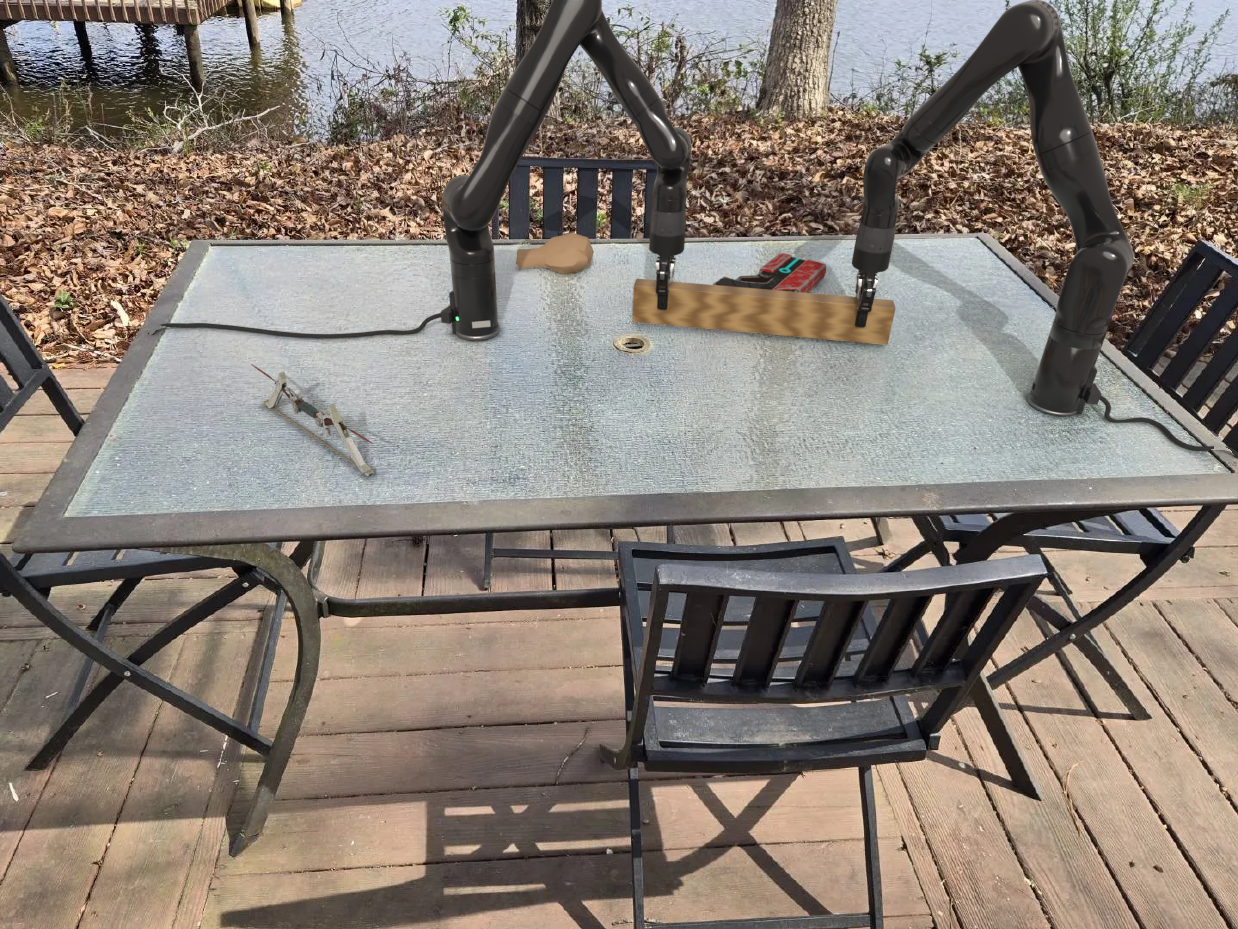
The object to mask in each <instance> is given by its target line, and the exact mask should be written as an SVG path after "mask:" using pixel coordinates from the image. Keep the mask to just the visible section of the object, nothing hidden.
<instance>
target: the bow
mask: <svg viewBox="0 0 1238 929" xmlns="http://www.w3.org/2000/svg"><path fill="white" fill-rule="evenodd" d="M250 365H251V366H252V367H253V368H255V369H256V370H257V371H259V373H261V374H263V375H264V376H266V377H267V378H269V379H270V380H272V381H273V382H274V390H273V391H272V392H271V394H270V396H269V398H268V399H265V400H263V401H262V403H263V406H264V407H266V408H267V409H273V410H274V411H276V412H277V413H278V414H280V415H281V416H283V417H285V419H287V420H289V421H290V422H292V423H293V424H295V425H296V426H297V427H299V428H301V429H302V430H304V431H305V432H306V433H307V434H309V435H311V436H312V437H313V438H315V439H316V440H318V441H319V442H320V443H322V444H324V445H325V446H326V447H328V448H329V449H330V450H332V451H334V452H335V453H337V454H338V455H340V456H341V457H342V458H343V459H345V460H347V461H348V462H349V463H351V464H352V465H354V466H355V467H357V468H358V470H359V471H360V472H361V473H362V475H364V476H367V477H370V475H373V474H375V473H374V471H373V469H372V468H371V467H370V466H368V464H367V463H366V462H365V460H364V458H363V456H362V454H361V452H360V451H359V448H358V447H357V445H356V443H355V441H354V440H353V438H352V436H351V434H350V432H351V433H353V434H354V435H356V436H357V437H358V438H360V439H362V440H363V441H365V442H367V443H369V444H373V442H372V441H371V440H369V439H368V438H366V437H365V436H363V434H360V433H359V432H357V431H355V430H353V429H351V428H349V427H348V426H347V425H346V423H345V421H344V419H343V417H342V416H341V414H340V413H339V411H338V409H337V407H336V405H335V403H334V402H333V403H331V404H328V405H327V406H328V411H327V409H324V410H321V411H319V409H318V408H317V407H316V406H314V405H312V404H311V403H310V402H308V401H305V400H304V399H303V398H304V397H303V394H302V393H298V394H297V393H296V392H295V391H294V390H293V389H292V388H290V387H288V386H287V385H288V381H287V375H286V372H285V371H283V372H280V373H278V375H277V379H276V380H275V379H274V378H273V377H271V375H269V374H268V373H267V372H265V371H263V369H261V368H259V367H257V366H256V365H254V364H253V363H251V364H250ZM283 394H284V395H285V396H286V398H288V399H289V401H290V402H289V403H290V404H291V407H292V410H291V411H292V414H293V415H294V416H296V415H298V414H302V412H303V413H304V414H306V415H308V416H309V417H311V418H312V419H315V424H316V426H317V427H319V428H321V429H323V433H324V436H325V437H326V438H328V437H330V436H333V435H334V433H333V430H332V426H334V427H335V428H336V431H337V432H338V434H339V436H340V438H341V440H342V443H343V444H344V446H345V449H346V450H347V452H348V453H349V455H350V456H351V459H352V460H353V461H352V460H350V459H349V458H348V457H346V456H344V455H343V454H342V453H340V452H339V451H338V450H336V449H334V447H332V446H330V445H328V444H327V443H325V442H324V441H323V440H321V439H320V438H318V437H317V436H315V435H314V434H313V433H311V432H310V431H309V430H307V429H305V428H304V427H303V426H301V425H300V424H298V423H297V422H295V421H294V420H292V419H291V418H289V417H288V416H286V415H285V414H284V413H282V412H281V411H279V410H278V409H276V406H278V405H279V404H280V401H281V400H282V397H283Z"/></svg>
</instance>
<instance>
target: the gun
mask: <svg viewBox="0 0 1238 929" xmlns="http://www.w3.org/2000/svg"><path fill="white" fill-rule="evenodd" d="M826 273H827V264H826V263H823V262H820V261H816V260H812V259H802V258H799V257H795V256H793V255H792V254H791V253H784V252H780V253H778V254H777V255H775V256H774V257H773V258H771V259H770V260H768V261H767V262H766V263H765V264H763V265H762V266H761V267H760V269H759V271H758V273H757V274H756V275H753V274H752V275H751V274H750V275H740V276H738V277H737V278H735V279H734V278H731V277H727V276H722V277H720V279H717V281H715V282H713V283H712V285H719V286H731V287H743V288H755V289H767V290H779V291H791V292H802V293H811V292H812V291H813V290H814V289H815V287H817V285H818V284H820V283H821V282H822V280H823V279H824V278H825V276H826Z"/></svg>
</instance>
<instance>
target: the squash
mask: <svg viewBox="0 0 1238 929" xmlns="http://www.w3.org/2000/svg"><path fill="white" fill-rule="evenodd" d="M594 253H595V251H594V249H593V246H592V243H591V242H590V239H589V237H587V236H584V235H581V234H579V233H574V232H568V233H565V234H563V235H558V236H552V237H551V238H550V239H548V240H547V241H546V242H545V243H544V244H542V245H541V246H539V247H534V248H518V249H516V258H515V264H516V266H517V267H518V269H520V270H522V269H529V268H530V269H531V268H544V269H549V270H551V271H553V272H555V273H558V274H561V275H572V274H573V275H574V274H578V273H579V272H580V271H583V270H585V269H587V268H589V267H590V266H591V264H592V260H593V257H594Z"/></svg>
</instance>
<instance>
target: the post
mask: <svg viewBox="0 0 1238 929" xmlns="http://www.w3.org/2000/svg"><path fill="white" fill-rule="evenodd" d="M632 287H633V289H632V291H633V292H632V313H631V314H632V315H631V317H632V318H631V323H638V324H639V323H640V324H651V325H663V326H675V327H685V328H695V329H706V330H707V329H709V330H717V331H728V332H729V331H730V332H738V333H739V332H740V333H751V334H752V333H753V334H761V335H762V334H764V335H772V336H773V335H774V336H784V337H794V338H795V337H797V338H807V339H816V340H817V339H818V340H828V341H839V342H840V341H841V342H851V343H863V344H874V345H884V346H885V345H886V346H888V344H889V340H890V336H891V331H892V328H893V327H892V326H893V322H894V319H895V318H894V317H895V312H896V305H895V301H894V299H884V298H874V301H873V305H872V310H871V312H868V317H867V322H866V326H865V327H856V326H855V321H856V315H857V307H858V302H859V299H857V297H855V296H849V295H838V294H837V295H835V294H826V293H824V294H823V293H814V292H810V293H802V292H791V291H779V290H767V289H755V288H743V287H731V286H719V285H713V284H706V283H694V282H683V281H672V282H671V283H670V284H669V293H668V306H667V309H666V310H660V309H658V308H657V300H658V294H656V279H647V278H635V280H634V284H633V286H632ZM660 288H665V286H660ZM863 305H866V306H867V305H868V303H863Z"/></svg>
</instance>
